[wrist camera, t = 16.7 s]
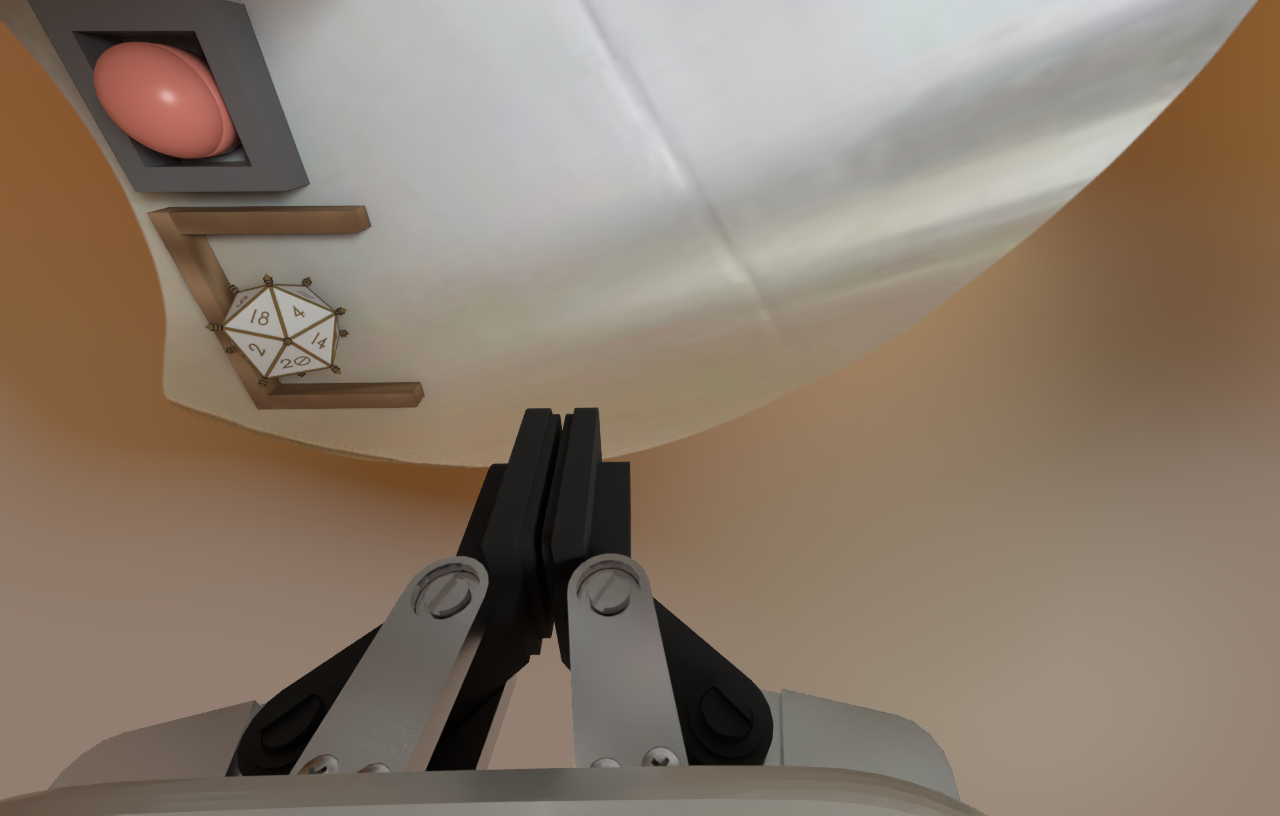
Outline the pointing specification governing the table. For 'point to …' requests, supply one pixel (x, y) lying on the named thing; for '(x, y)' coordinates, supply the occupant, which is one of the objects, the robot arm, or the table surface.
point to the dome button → (165, 99)
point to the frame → (211, 292)
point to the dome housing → (196, 6)
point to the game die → (282, 329)
